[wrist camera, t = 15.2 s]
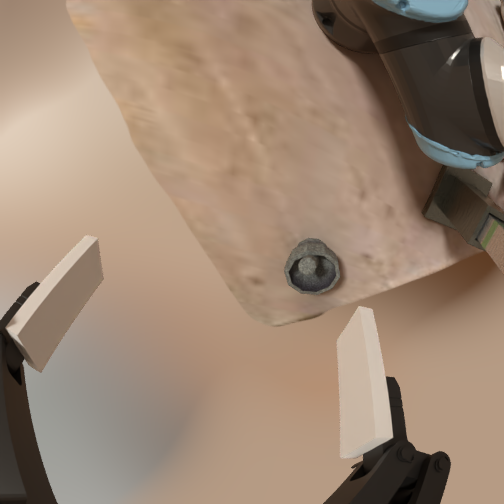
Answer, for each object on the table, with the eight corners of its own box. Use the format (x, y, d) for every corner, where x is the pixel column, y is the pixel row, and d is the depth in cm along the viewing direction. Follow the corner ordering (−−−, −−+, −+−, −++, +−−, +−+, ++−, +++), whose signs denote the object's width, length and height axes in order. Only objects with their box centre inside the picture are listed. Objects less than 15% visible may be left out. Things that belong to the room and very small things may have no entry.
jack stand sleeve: (446, 156, 40) (484, 183, 29) (488, 180, 40) (525, 211, 29) (421, 213, 47) (449, 252, 36) (464, 231, 47) (493, 269, 36)
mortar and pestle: (338, 267, 56) (345, 310, 46) (293, 275, 59) (291, 318, 49) (330, 218, 50) (337, 257, 41) (279, 228, 53) (274, 268, 43)
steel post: (470, 196, 36) (538, 269, 20) (486, 205, 37) (550, 277, 20) (459, 219, 39) (518, 298, 23) (475, 226, 39) (532, 303, 23)
